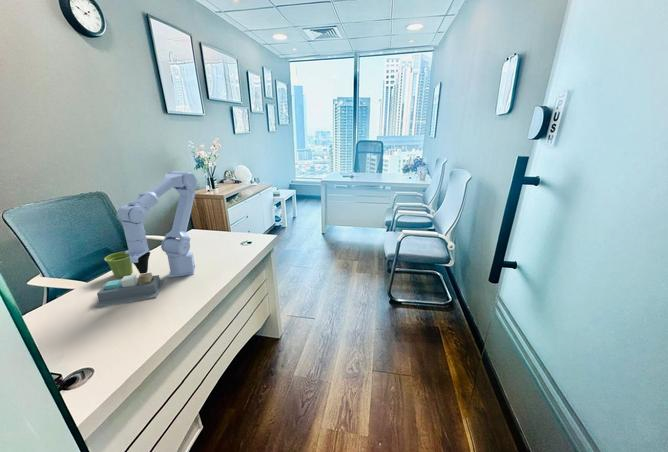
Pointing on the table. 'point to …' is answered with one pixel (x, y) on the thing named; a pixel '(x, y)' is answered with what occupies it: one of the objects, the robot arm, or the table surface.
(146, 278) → the oak key
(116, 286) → the teal key
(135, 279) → the ivory key
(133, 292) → the tray
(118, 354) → the table surface
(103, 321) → the table surface
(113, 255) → the plant pot
